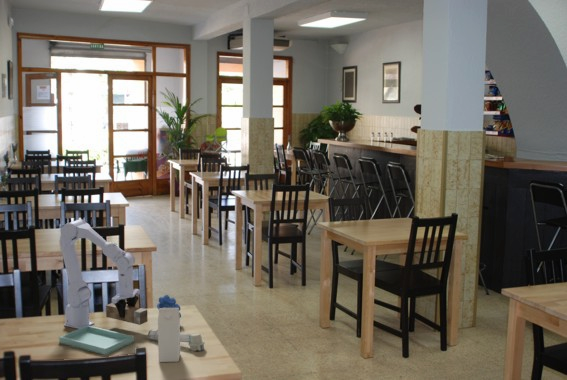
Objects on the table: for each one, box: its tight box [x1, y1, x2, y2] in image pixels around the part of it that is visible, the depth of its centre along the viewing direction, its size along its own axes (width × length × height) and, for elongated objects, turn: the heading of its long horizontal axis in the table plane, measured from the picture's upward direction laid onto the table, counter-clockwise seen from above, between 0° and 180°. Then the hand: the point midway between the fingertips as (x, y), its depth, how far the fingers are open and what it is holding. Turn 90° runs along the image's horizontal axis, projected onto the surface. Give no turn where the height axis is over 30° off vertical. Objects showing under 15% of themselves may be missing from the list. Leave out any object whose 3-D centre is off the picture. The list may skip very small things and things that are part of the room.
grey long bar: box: [147, 329, 205, 352], centre depth 245 cm, size 5×7×25 cm
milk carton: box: [157, 308, 181, 363], centre depth 230 cm, size 7×7×19 cm
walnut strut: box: [105, 302, 148, 325], centre depth 260 cm, size 18×5×5 cm, turn 62°
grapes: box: [156, 294, 182, 318], centre depth 267 cm, size 12×7×12 cm, turn 66°
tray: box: [58, 325, 135, 356], centre depth 246 cm, size 24×15×2 cm, turn 62°
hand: (126, 315), depth 260 cm, fingers closed on walnut strut, 4 cm apart
